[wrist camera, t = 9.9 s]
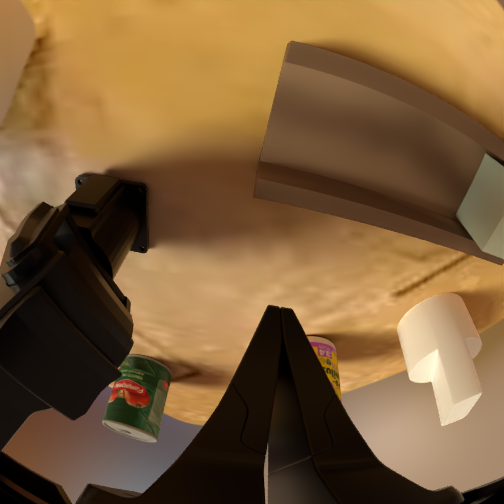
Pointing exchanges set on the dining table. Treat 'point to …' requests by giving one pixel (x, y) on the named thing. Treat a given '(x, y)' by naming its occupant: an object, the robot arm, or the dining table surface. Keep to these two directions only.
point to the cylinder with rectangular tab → (443, 352)
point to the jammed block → (485, 207)
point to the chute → (371, 149)
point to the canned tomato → (138, 398)
